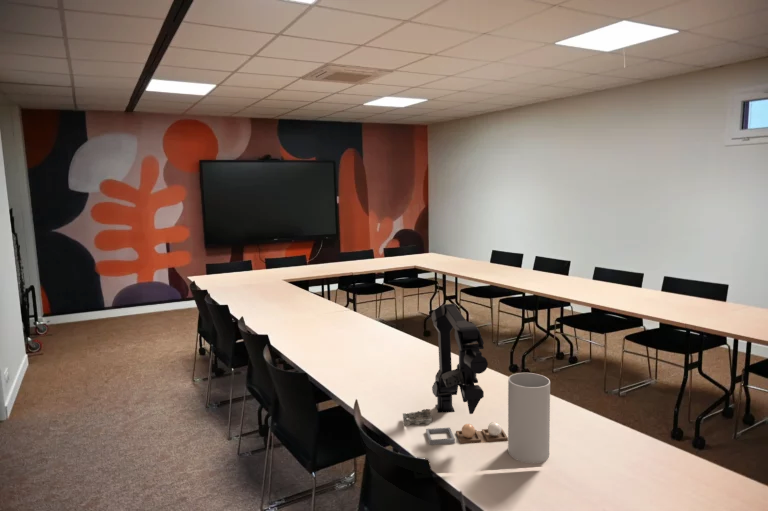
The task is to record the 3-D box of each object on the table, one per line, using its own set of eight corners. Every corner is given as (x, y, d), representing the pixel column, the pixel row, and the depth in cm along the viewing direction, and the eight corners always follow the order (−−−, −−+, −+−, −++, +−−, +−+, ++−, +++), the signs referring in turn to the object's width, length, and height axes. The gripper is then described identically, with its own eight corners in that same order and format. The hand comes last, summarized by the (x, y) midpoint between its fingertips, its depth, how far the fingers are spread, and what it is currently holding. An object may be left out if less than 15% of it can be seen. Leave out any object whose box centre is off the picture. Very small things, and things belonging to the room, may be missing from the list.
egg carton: (431, 418, 187) (431, 408, 187) (432, 428, 180) (432, 417, 179) (402, 418, 188) (402, 408, 187) (402, 428, 180) (402, 417, 180)
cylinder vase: (557, 462, 155) (558, 384, 151) (521, 469, 151) (522, 390, 148) (534, 443, 166) (535, 370, 163) (500, 449, 163) (500, 375, 160)
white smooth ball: (486, 432, 172) (486, 420, 172) (499, 432, 173) (499, 419, 172) (489, 439, 168) (489, 426, 167) (503, 438, 168) (503, 425, 167)
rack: (455, 435, 174) (455, 430, 173) (501, 432, 174) (501, 427, 174) (460, 446, 166) (460, 441, 165) (508, 443, 166) (508, 438, 166)
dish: (426, 435, 174) (425, 428, 174) (450, 433, 175) (449, 427, 174) (429, 447, 166) (429, 440, 166) (454, 445, 166) (454, 439, 166)
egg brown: (460, 434, 172) (460, 421, 171) (473, 433, 172) (473, 421, 171) (463, 441, 167) (463, 428, 167) (476, 440, 167) (476, 427, 167)
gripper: (438, 355, 175) (439, 397, 177) (448, 374, 157) (449, 421, 159) (470, 353, 176) (470, 396, 178) (484, 372, 157) (484, 419, 159)
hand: (467, 407), depth 168 cm, fingers open, 9 cm apart
